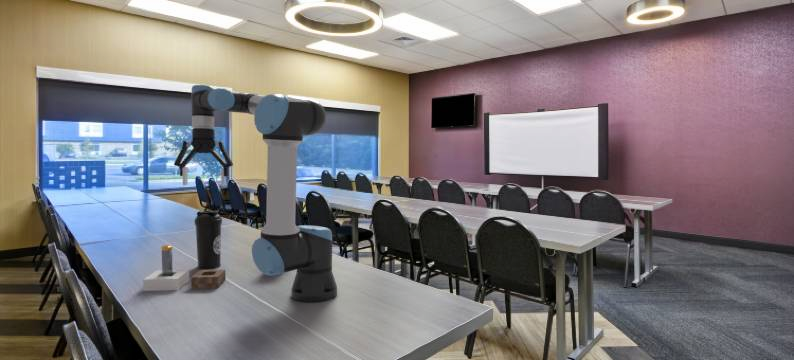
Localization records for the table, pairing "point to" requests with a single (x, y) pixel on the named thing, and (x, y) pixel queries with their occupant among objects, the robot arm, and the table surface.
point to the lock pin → (167, 261)
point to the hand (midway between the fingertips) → (204, 185)
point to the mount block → (208, 279)
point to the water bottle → (208, 239)
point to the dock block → (165, 281)
